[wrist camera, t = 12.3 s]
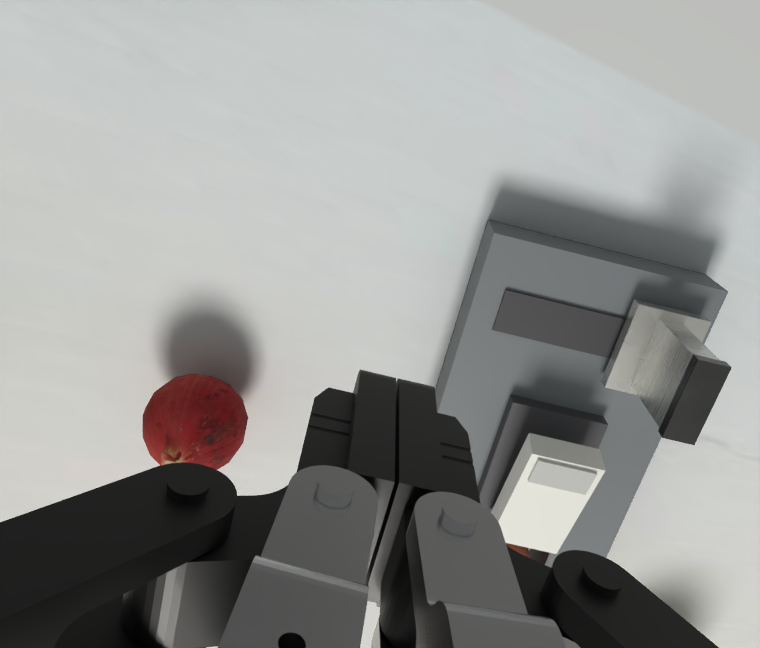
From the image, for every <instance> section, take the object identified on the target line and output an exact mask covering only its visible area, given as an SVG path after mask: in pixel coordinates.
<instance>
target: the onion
mask: <svg viewBox="0 0 760 648" xmlns="http://www.w3.org/2000/svg"><path fill="white" fill-rule="evenodd" d="M247 420H248V416H247V413H246V410H245V406H244V403H243V400H242V398H241V397H240V396H239V395H238V394H237V392H236V391H235V390H234V389H233V388H232V387H231V386H230V385H229V384H228V383H225V382H223V381H221V380H219V379H216V378H214V377H212V376H206V375H198V374H189V375H185V376H180V377H175V378H174V379H172V380H171V381H169V382H168V383H166V384H165V385H164V386H162V387H161V388H159V389H158V390H157V391H156V392H154V394H153V396H152V397H151V399H150V401H149V403H148V405H147V406H146V408H145V411H144V414H143V439H144V441H145V444H146V446H147V448H148V451H149V453H150V455H151V456H152V457H153V458H154V459H155V460H156V461H157V462H158V463H159V464H160V465H165V464H170V463H180V462H185V463H195V464H201V465H205V466H208V467H211V468H213V469H215V470H217V469H219V468H221V467H222V466H224V465H226V464H227V463H229V461H230V460H231V459H232V457H233V456H234V455H235V453H236V452H237V451H238V449H239V448H240V446H241V445H242V444H243V441H244V435H245V430H246V425H247Z"/></svg>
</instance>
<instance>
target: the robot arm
mask: <svg viewBox="0 0 760 648" xmlns="http://www.w3.org/2000/svg"><path fill="white" fill-rule="evenodd" d="M470 451H471V447H470V441H469V435H468V432H467V431H466V430H465V429H464V427H463V426H462V425H461V423H460V422H459V421H458V420H457V418H456V417H454V416H449V415H445V414H441V413H437V405H436V395H435V388H434V387H432V386H428V385H424V384H419V383H415V382H411V381H407V380H402V379H398V380H397V382H396V378H393V377H389V376H385V375H381V374H376V373H372V372H368V371H363V370H360V371H359V373H358V377H357V380H356V384H355V388H354V392H353V393H350V392H345V391H341V390H337V389H332V388H327V389H326V390H325V391H323V392H322V393H321V394H319V395H318V396H317V397H315V399H314V403H313V407H312V411H311V415H310V419H309V424H308V428H307V432H306V436H305V440H304V444H303V448H302V453H301V457H300V461H299V465H298V469H297V473H295V474H294V476H293V477H292V478H291V480H290V482H289V485H288V486H286V487H285V488H283V489H281V490H279V491H276V492H273V493H270V494H265V495H257V496H237V491H236V489H235V486H234V485H233V483H232V482H231V480H230V479H229V478H228V477H227V476H225V475H224V474H222V473H221V472H219V471H217V470H215V469H213V468H211V467H208V466H205V465H201V464H195V463H185V462H180V463H170V464H165V465H161V466H158V467H155V468H152V469H149V470H147V471H144V472H141V473H138V474H135V475H132V476H130V477H127V478H124V479H121V480H118V481H116V482H113V483H110V484H107V485H104V486H102V487H99V488H96V489H93V490H90V491H88V492H85V493H82V494H79V495H76V496H73V497H71V498H68V499H65V500H62V501H59V502H57V503H54V504H51V505H48V506H45V507H43V508H40V509H37V510H34V511H31V512H29V513H26V514H23V515H20V516H17V517H14V518H12V519H9V520H6V521H3V522H0V648H206V647H212V646H218V648H360V644H361V637H362V631H363V625H364V619H365V612H366V606H367V601H372V602H376V603H380V616H379V619H378V622H377V625H376V628H375V631H374V634H373V638H372V645H371V647H372V648H719V647H717V646H716V645H715V644H714V643H713V642H711V641H710V640H709V639H708V638H706V637H705V636H704V635H703V634H702V633H700V632H699V631H698V630H697V629H696V628H694V627H693V626H692V625H691V624H690V623H688V622H687V621H686V620H685V619H684V618H682V617H681V616H680V615H679V614H678V613H676V612H675V611H674V610H673V609H672V608H670V607H669V606H668V605H667V604H665V603H664V602H663V601H662V600H661V599H659V598H658V597H657V596H656V595H655V594H653V593H652V592H651V591H650V590H649V589H647V588H646V587H645V586H644V585H643V584H641V583H640V582H639V581H638V580H637V579H635V578H634V577H633V576H632V575H631V574H629V573H628V572H627V571H626V570H624V569H623V568H622V567H620V566H619V565H617V564H616V563H614V562H613V561H611V560H609V559H607V558H605V557H603V556H600V555H598V554H595V553H591V552H588V551H582V550H568V551H565V552H562V553H560V554H559V555H558V556H557V557H556V558H555V560H554V562H553V564H552V566H551V567H548V566H546V565H544V564H542V563H540V562H537V561H535V560H533V559H531V558H529V557H526V556H524V555H522V554H520V553H518V552H516V551H515V550H513V549H511V548H510V547H508V546H507V545H506V543H505V539H504V536H503V533H502V530H501V527H500V525H499V522H498V521H497V519H496V518H495V517H494V515H493V514H492V513H491V512H490V511H489V510H488V509H486V508H485V507H484V506H482V505H481V504H480V498H479V492H478V487H477V481H476V475H475V469H474V466H473V458H472V452H470Z"/></svg>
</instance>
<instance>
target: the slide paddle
mask: <svg viewBox="0 0 760 648" xmlns="http://www.w3.org/2000/svg"><path fill="white" fill-rule="evenodd" d="M710 324H711V321H710V320H709V319H707V318H706V317H705V316H701V315H697V314H693V313H689V312H685V311H681V310H677V309H673V308H668V307H664V306H660V305H656V304H652V303H648V302H644V301H640V300H636V299H634V301H633V304H632V306H631V308H630V311H629V313H628V316H627V318H626V321H625V323H624V326H623V328H622V331H621V333H620V335H619V338H618V340H617V343H616V345H615V348H614V350H613V353H612V355H611V358H610V360H609V362H608V365H607V367H606V370H605V372H604V375H603V377H602V380H601V382H602V383H603V385H604V387H605V388H609V389H614V390H618V391H622V392H626V393H630V394H634V395H638V396H639V398H640V399H641V401H642V402H643V404H644V405H645V407H646V408H647V410H648V411H649V413H650V414H651V416H652V417H653V419H654V420H655V422H656V423H657V425H658V426H659V430H658V432H659V433H660V435H661V436H662V438H666V439H670V440H675V441H679V442H683V443H687V444H692V445H695V442H696V440H697V438H698V436H699V434H700V432H701V430H702V428H703V426H704V424H705V422H706V420H707V418H708V415H709V413H710V411H711V409H712V407H713V405H714V403H715V401H716V399H717V397H718V395H719V393H720V391H721V389H722V386H723V384H724V382H725V380H726V378H727V376H728V374H729V372H730V370H731V368H732V367H731V366H729V365H728V364H727V363H726V362H724V361H720V360H719V359H718V358H717V357H716V356H715V355H714V354H713V353H712V352H711V351H710V350H709V349H708V348H707V347H706V346H705V345H704V344H703V343H702V342H703V340H704V337H705V335H706V333H707V331H708V329H709V327H710Z"/></svg>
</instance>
